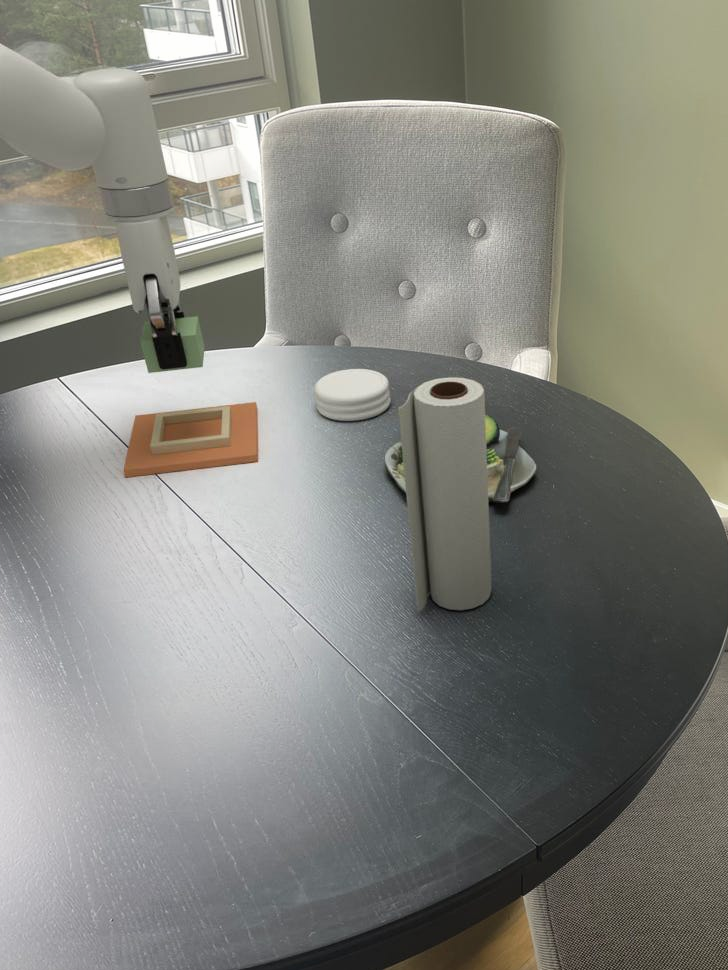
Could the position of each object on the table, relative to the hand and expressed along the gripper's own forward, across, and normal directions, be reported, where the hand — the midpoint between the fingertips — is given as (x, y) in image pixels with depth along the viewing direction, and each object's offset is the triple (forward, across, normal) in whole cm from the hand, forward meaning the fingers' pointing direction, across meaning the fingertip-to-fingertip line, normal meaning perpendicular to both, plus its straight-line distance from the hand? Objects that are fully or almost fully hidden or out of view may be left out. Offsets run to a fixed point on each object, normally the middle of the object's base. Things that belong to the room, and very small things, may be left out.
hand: (175, 355), depth 118 cm
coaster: (+12, -5, +21) cm, 24 cm away
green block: (+1, 0, 0) cm, 1 cm away
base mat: (+11, 0, 0) cm, 11 cm away
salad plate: (+12, +17, +32) cm, 38 cm away
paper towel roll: (+12, +42, +27) cm, 51 cm away
